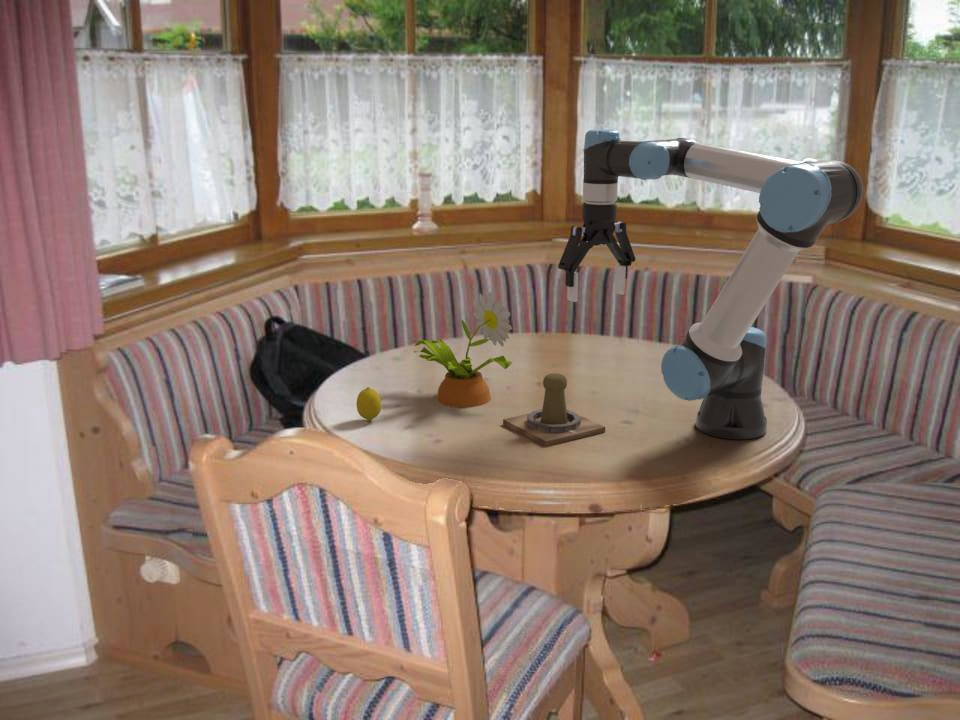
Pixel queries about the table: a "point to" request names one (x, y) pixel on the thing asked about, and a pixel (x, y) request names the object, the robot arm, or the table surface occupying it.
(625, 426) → the table surface
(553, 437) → the socket board
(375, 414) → the lemon
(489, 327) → the decorative plant
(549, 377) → the olive round stacked cylinder
